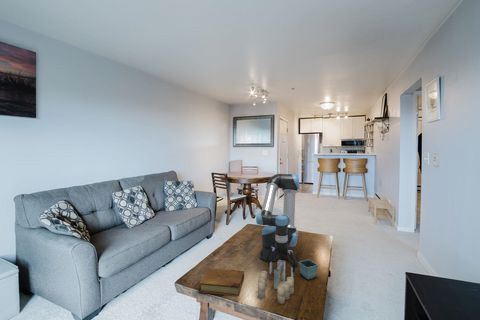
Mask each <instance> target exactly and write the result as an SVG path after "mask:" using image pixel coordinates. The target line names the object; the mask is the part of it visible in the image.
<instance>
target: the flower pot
mask: <svg viewBox="0 0 480 320" xmlns="http://www.w3.org/2000/svg"><path fill="white" fill-rule="evenodd" d="M298 268H299V272H300V274H301V275H302V276H303V278H305V279H307V280H311V279H314V278H315V277H316V275H317V274H318V268H319V265H318V264H317V263H315V262H314V261H312V260H311V259H304V260H301V261H298Z"/></svg>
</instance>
